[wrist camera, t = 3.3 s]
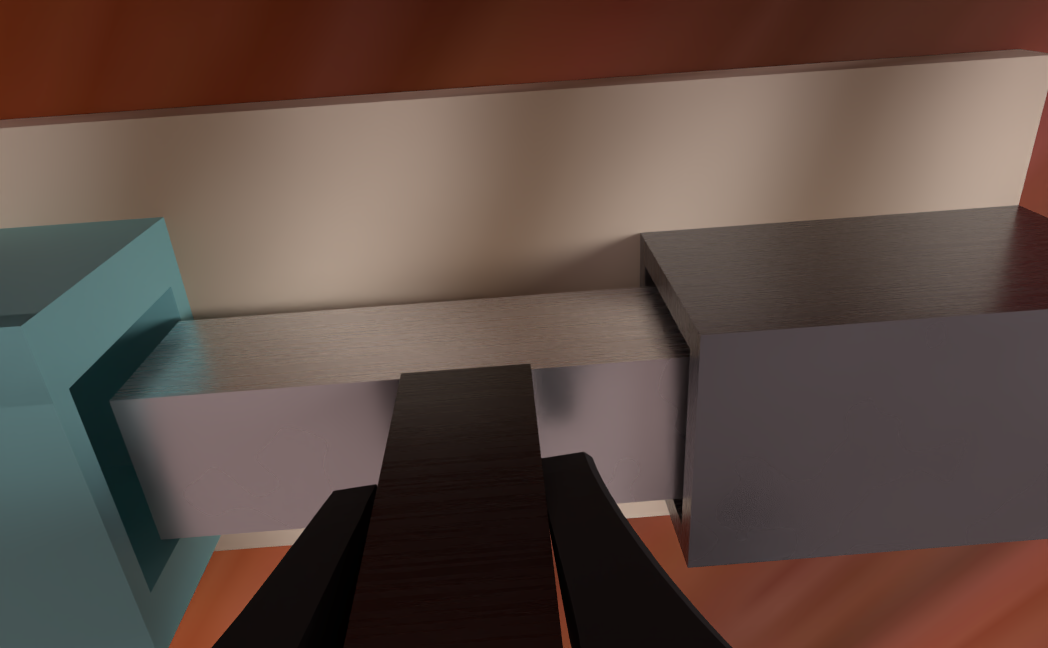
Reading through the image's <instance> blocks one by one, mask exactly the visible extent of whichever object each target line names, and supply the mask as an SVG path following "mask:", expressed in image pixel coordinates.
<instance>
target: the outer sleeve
mask: <svg viewBox="0 0 1048 648" xmlns="http://www.w3.org/2000/svg"><path fill="white" fill-rule="evenodd" d="M647 286H656V287H657V289H658V291H659V293H660V295H661V296H662V298H663V300H664V302H665V304H666V306H667V308H668V309H669V311H670V313H671V315H672V317H673V319H674V321H675V322H676V324H677V326H678V328H679V330H680V332H681V334H682V335H683V337H684V339H685V341H686V343H687V345H688V347H689V348H690V363H689V383H688V404H687V424H686V444H685V465H684V485H683V498H682V499H669V500H665V502H666V505H667V508H668V511H669V514H670V517H671V520H672V523H673V525H674V528H675V531H676V534H677V537H678V540H679V543H680V546H681V549H682V552H683V555H684V558H685V561H686V564H687V567H688V568H690V567H702V566H714V565H727V564H739V563H751V562H764V561H776V560H789V559H801V558H813V557H826V556H838V555H851V554H863V553H875V552H888V551H900V550H913V549H925V548H937V547H950V546H962V545H975V544H987V543H999V542H1012V541H1024V540H1037V539H1048V218H1046V217H1044V216H1042V215H1040V214H1037V213H1035V212H1033V211H1031V210H1028V209H1026V208H1024V207H1021V206H1019V205H1013V206H1000V207H986V208H972V209H959V210H945V211H931V212H917V213H904V214H890V215H876V216H863V217H849V218H835V219H822V220H808V221H794V222H781V223H767V224H753V225H740V226H726V227H712V228H698V229H685V230H671V231H657V232H644V233H640V287H647Z"/></svg>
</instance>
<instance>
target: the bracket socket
mask: <svg viewBox="0 0 1048 648" xmlns="http://www.w3.org/2000/svg"><path fill="white" fill-rule="evenodd" d="M189 320H194V318H193V315H192V311H191V308H190V305H189V301H188V298H187V295H186V291H185V288H184V284H183V281H182V278H181V274H180V271H179V267H178V264H177V261H176V257H175V254H174V250H173V247H172V244H171V240H170V237H169V233H168V230H167V227H166V223H165V220H164V217H156V218H142V219H128V220H114V221H100V222H86V223H72V224H58V225H44V226H30V227H17V228H3V229H0V648H168V647H169V645H170V643H171V641H172V639H173V637H174V635H175V632H176V630H177V628H178V626H179V624H180V622H181V620H182V617H183V615H184V613H185V611H186V609H187V607H188V605H189V603H190V600H191V598H192V596H193V594H194V592H195V590H196V588H197V585H198V583H199V581H200V579H201V577H202V575H203V573H204V571H205V568H206V566H207V564H208V562H209V560H210V558H211V556H212V553H213V551H214V549H215V547H216V545H217V543H218V541H219V538H220V536H221V535H214V536H201V537H188V538H176V539H163V540H161V538H160V535H159V533H158V530H157V527H156V525H155V522H154V519H153V517H152V514H151V511H150V509H149V506H148V503H147V501H146V498H145V495H144V493H143V490H142V487H141V485H140V482H139V479H138V477H137V474H136V471H135V469H134V466H133V463H132V461H131V458H130V455H129V453H128V450H127V447H126V445H125V442H124V439H123V437H122V434H121V431H120V429H119V426H118V423H117V421H116V418H115V415H114V413H113V410H112V407H111V405H110V402H109V401H110V400H111V399H112V397H113V396H114V395H115V394H116V393H117V392H118V391H119V389H120V388H121V387H122V386H123V385H124V384H125V383H126V381H127V380H128V379H129V378H130V377H131V376H132V375H133V373H134V372H135V371H136V370H137V369H138V368H139V366H140V365H141V364H142V363H143V362H144V361H145V360H146V358H147V357H148V356H149V355H150V354H151V353H152V352H153V350H154V349H155V348H156V347H157V346H158V345H159V344H160V342H161V341H162V340H163V339H164V338H165V337H166V336H167V334H168V333H169V332H170V331H171V330H172V329H173V328H174V326H175V325H176V324H177V323H178V322H179V321H189Z"/></svg>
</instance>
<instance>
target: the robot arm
mask: <svg viewBox="0 0 1048 648" xmlns="http://www.w3.org/2000/svg"><path fill="white" fill-rule="evenodd" d="M541 460H542V469H543V478H544V487H545V495H546V504H547V513H548V522H549V529H550V535H551V540H552V545H553V551H554V556H555V562H556V567H557V573H558V578H559V584H560V589H561V595H562V600H563V606H564V611H565V617H566V622H567V628H568V633H569V638H570V643H571V647H572V648H732V647H731V646H730V645H729V644H728V643H727V642H726V641H725V640H724V639H723V638H722V636H721V635H720V634H719V633H718V632H717V631H716V630H715V629H714V628H713V627H712V626H711V625H710V624H709V622H708V621H707V620H706V619H705V618H704V617H703V616H702V615H701V613H700V612H699V611H698V610H697V609H696V608H695V607H694V605H693V604H692V603H691V602H690V601H689V600H688V598H687V597H686V596H685V595H684V594H683V592H682V591H681V590H680V589H679V588H678V587H677V585H676V584H675V583H674V582H673V581H672V579H671V578H670V577H669V576H668V574H667V573H666V572H665V571H664V569H663V568H662V567H661V566H660V564H659V563H658V562H657V560H656V559H655V558H654V556H653V555H652V554H651V552H650V551H649V550H648V548H647V547H646V546H645V544H644V543H643V541H642V540H641V539H640V537H639V536H638V535H637V533H636V532H635V531H634V529H633V528H632V526H631V525H630V523H629V522H628V521H627V519H626V518H625V516H624V515H623V513H622V511H621V510H620V508H619V507H618V505H617V504H616V502H615V500H614V499H613V497H612V496H611V494H610V492H609V490H608V489H607V487H606V485H605V483H604V481H603V480H602V478H601V476H600V474H599V471H598V469H597V467H596V465H595V462H594V460H593V457H591V456H590V455H588V454H587V453H585V452H578V453H572V454H565V455H559V456H552V457H546V458H541ZM376 490H377V484H374V485H367V486H361V487H354V488H348V489H342V490H335V491H333V492H332V494H331V495H330V496H329V498H328V499H327V500H326V501H325V503H324V504H323V505H322V507H321V508H320V509H319V510H318V512H317V513H316V514H315V516H314V517H313V518H312V520H311V521H310V522H309V524H308V525H307V526H306V528H305V529H304V531H303V532H302V533H301V535H300V536H299V537H298V539H297V540H296V541H295V543H294V544H293V545H292V547H291V548H290V549H289V551H288V552H287V553H286V555H285V556H284V557H283V559H282V560H281V561H280V563H279V564H278V565H277V567H276V568H275V569H274V571H273V572H272V573H271V575H270V576H269V577H268V578H267V580H266V581H265V582H264V584H263V585H262V586H261V587H260V589H259V590H258V591H257V593H256V594H255V595H254V596H253V598H252V599H251V600H250V602H249V603H248V604H247V605H246V607H245V608H244V609H243V611H242V612H241V613H240V614H239V616H238V617H237V618H236V619H235V620H234V622H233V623H232V624H231V625H230V626H229V628H228V629H227V630H226V631H225V632H224V634H223V635H222V636H221V637H220V638H219V639H218V641H217V642H216V643H215V644H214V645H213V647H212V648H343V647H344V643H345V638H346V633H347V628H348V624H349V619H350V614H351V609H352V605H353V600H354V595H355V590H356V586H357V581H358V576H359V571H360V566H361V562H362V557H363V552H364V547H365V543H366V538H367V533H368V528H369V524H370V519H371V514H372V509H373V505H374V500H375V495H376Z"/></svg>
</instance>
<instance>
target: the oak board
mask: <svg viewBox="0 0 1048 648" xmlns="http://www.w3.org/2000/svg"><path fill="white" fill-rule="evenodd" d="M1047 91H1048V53H1042V52H1036V51H1029V50H1022V49H1014V50H1000V51H986V52H971V53H957V54H942V55H928V56H914V57H899V58H885V59H871V60H856V61H842V62H827V63H813V64H799V65H784V66H770V67H755V68H741V69H727V70H712V71H698V72H684V73H669V74H655V75H640V76H626V77H612V78H597V79H583V80H568V81H554V82H540V83H525V84H511V85H497V86H482V87H468V88H453V89H439V90H425V91H410V92H396V93H381V94H367V95H353V96H338V97H324V98H310V99H295V100H281V101H266V102H252V103H238V104H223V105H209V106H194V107H180V108H166V109H151V110H137V111H123V112H108V113H94V114H79V115H65V116H51V117H36V118H22V119H7V120H0V229H3V228H17V227H30V226H44V225H58V224H72V223H86V222H100V221H114V220H128V219H142V218H156V217H164V220H165V223H166V227H167V230H168V233H169V237H170V240H171V244H172V247H173V250H174V254H175V257H176V261H177V264H178V267H179V271H180V274H181V278H182V281H183V284H184V288H185V291H186V295H187V298H188V301H189V305H190V308H191V311H192V315H193V318H194V320H202V319H216V318H229V317H243V316H256V315H270V314H283V313H297V312H310V311H323V310H337V309H350V308H364V307H377V306H391V305H404V304H418V303H431V302H445V301H458V300H472V299H485V298H498V297H512V296H525V295H539V294H552V293H566V292H579V291H593V290H606V289H620V288H633V287H640V233H644V232H657V231H671V230H685V229H698V228H712V227H726V226H740V225H753V224H767V223H781V222H794V221H808V220H822V219H835V218H849V217H863V216H876V215H890V214H904V213H917V212H931V211H945V210H959V209H972V208H986V207H1000V206H1013V205H1019V201H1020V197H1021V193H1022V189H1023V185H1024V181H1025V177H1026V173H1027V169H1028V165H1029V161H1030V158H1031V154H1032V150H1033V146H1034V142H1035V138H1036V134H1037V130H1038V126H1039V122H1040V118H1041V114H1042V110H1043V107H1044V103H1045V99H1046V95H1047ZM617 505H618V507H619V508H620V510H621V511H622V513H623V515H624V516H625V518H637V517H650V516H662V515H670V514H669V511H668V508H667V505H666V502H665V500H656V501H644V502H631V503H618V504H617ZM304 529H305V528H302V529H290V530H277V531H264V532H252V533H239V534H226V535H221V536H220V538H219V541H218V543H217V545H216V547H215V549H214V551H222V550H234V549H247V548H259V547H272V546H285V545H293V544H294V543H295V541H296V540H297V539H298V537H299V536H300V535H301V533H302V532H303V531H304Z"/></svg>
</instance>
